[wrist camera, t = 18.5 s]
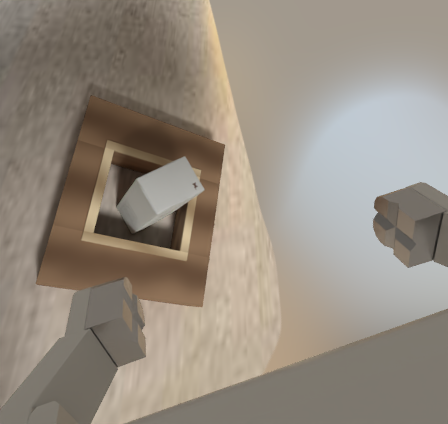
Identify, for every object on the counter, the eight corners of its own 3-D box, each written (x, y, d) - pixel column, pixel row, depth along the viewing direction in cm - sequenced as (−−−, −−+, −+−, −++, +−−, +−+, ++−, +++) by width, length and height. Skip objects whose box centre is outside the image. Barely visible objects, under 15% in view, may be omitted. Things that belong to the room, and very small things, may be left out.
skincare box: (154, 186, 44) (186, 154, 34) (170, 214, 45) (207, 190, 34) (113, 206, 41) (135, 177, 31) (130, 236, 42) (157, 216, 31)
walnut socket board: (190, 306, 43) (203, 307, 39) (36, 284, 36) (35, 283, 32) (212, 155, 50) (226, 144, 46) (87, 111, 42) (91, 93, 39)
